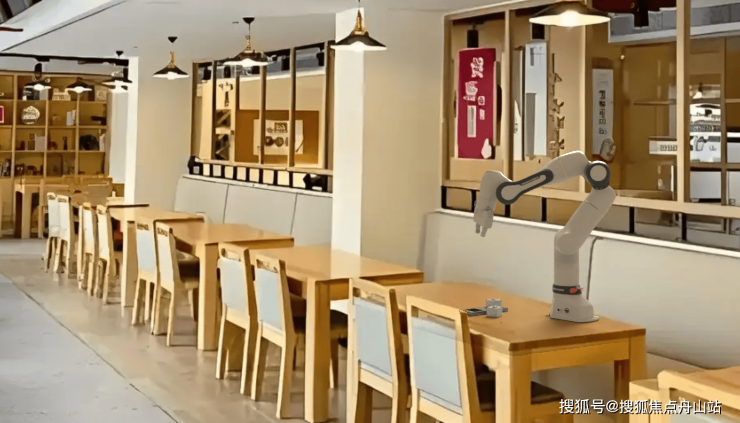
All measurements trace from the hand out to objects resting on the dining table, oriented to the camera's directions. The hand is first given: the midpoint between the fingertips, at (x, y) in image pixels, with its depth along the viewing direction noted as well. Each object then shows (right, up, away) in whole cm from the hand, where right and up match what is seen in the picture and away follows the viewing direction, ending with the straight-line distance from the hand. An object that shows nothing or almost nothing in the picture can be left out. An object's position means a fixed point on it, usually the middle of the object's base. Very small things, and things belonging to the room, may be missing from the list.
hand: (479, 234), depth 396 cm
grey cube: (+6, -34, -2) cm, 35 cm away
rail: (+1, -36, -5) cm, 36 cm away
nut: (+5, -36, -14) cm, 39 cm away
